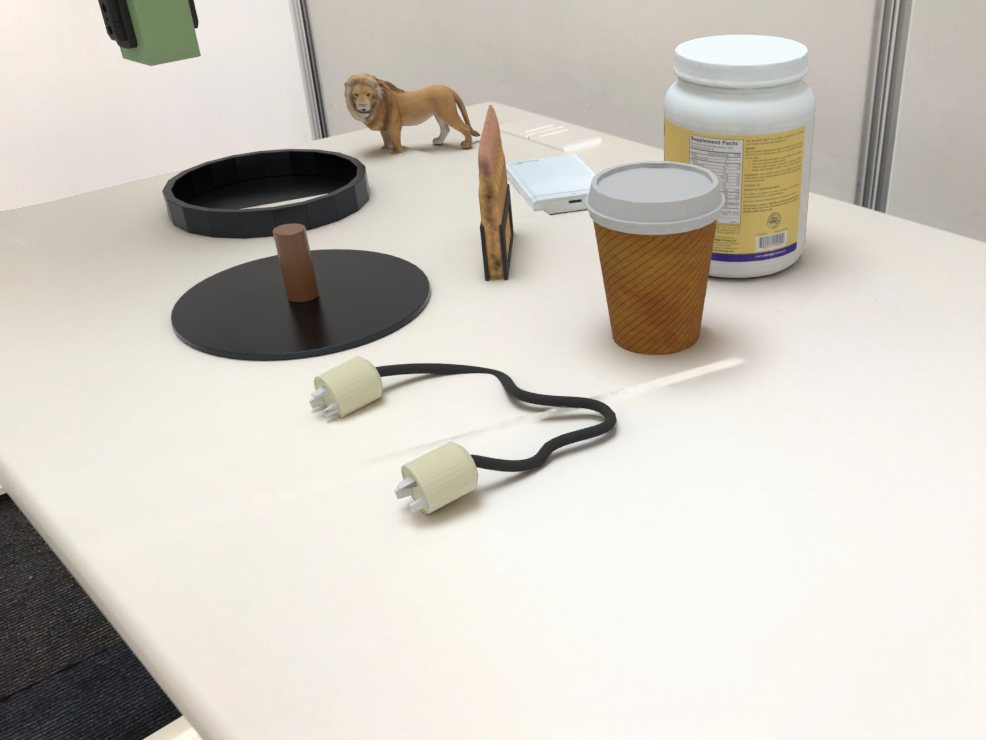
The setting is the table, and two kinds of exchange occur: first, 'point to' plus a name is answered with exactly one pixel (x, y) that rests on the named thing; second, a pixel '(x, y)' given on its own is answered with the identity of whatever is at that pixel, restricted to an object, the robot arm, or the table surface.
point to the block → (161, 32)
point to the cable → (450, 464)
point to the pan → (266, 192)
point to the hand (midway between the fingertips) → (156, 40)
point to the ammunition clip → (494, 202)
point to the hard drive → (552, 182)
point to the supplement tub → (747, 143)
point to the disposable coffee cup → (655, 250)
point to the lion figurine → (404, 109)
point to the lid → (300, 301)
